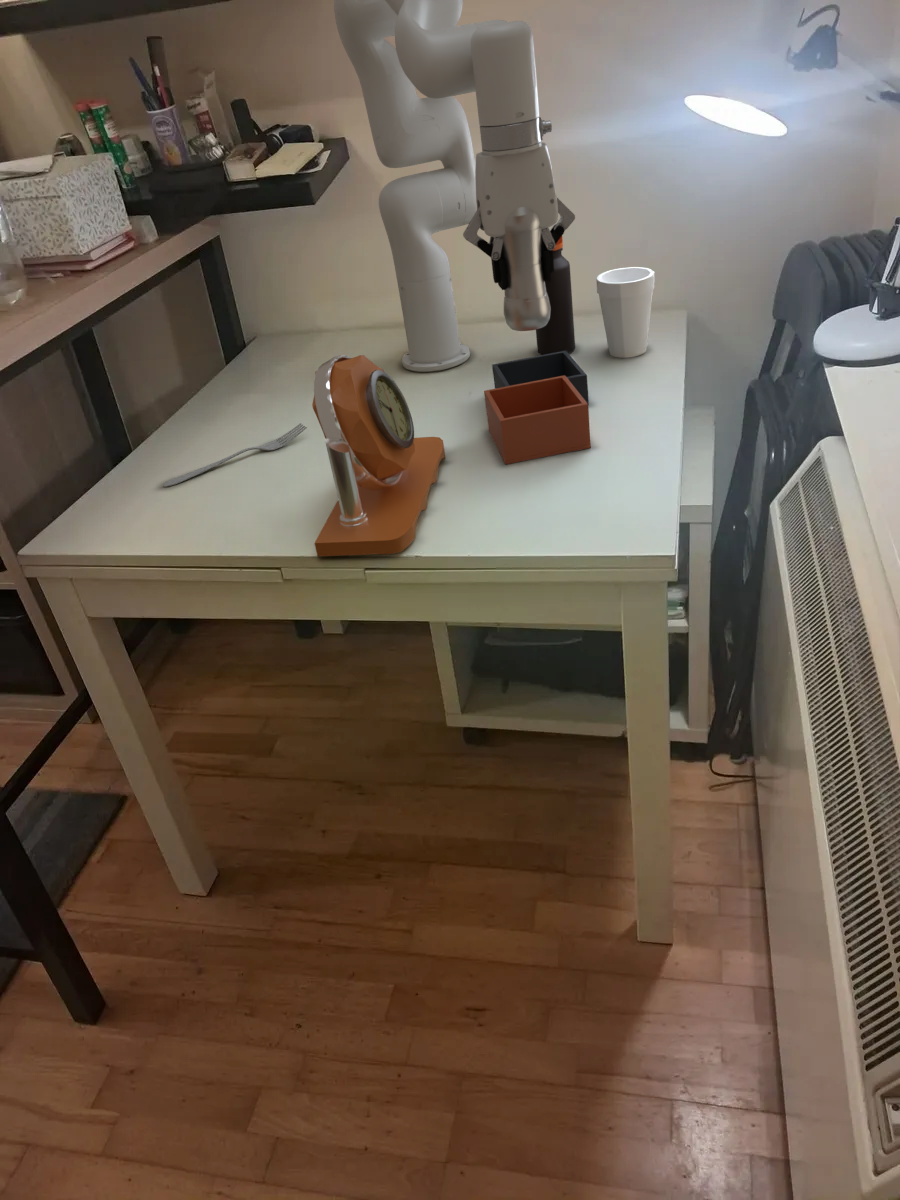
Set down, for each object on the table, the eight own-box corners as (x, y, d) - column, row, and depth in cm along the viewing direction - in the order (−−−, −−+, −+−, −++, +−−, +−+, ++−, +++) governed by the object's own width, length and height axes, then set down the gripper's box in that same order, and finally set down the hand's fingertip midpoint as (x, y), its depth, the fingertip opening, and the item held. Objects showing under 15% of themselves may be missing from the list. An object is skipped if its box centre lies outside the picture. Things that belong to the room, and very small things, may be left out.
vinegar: (535, 358, 166) (524, 241, 155) (540, 345, 172) (530, 231, 161) (573, 356, 165) (565, 238, 154) (577, 343, 170) (570, 228, 159)
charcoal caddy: (495, 393, 155) (491, 364, 152) (568, 379, 156) (566, 350, 153) (510, 420, 145) (507, 389, 142) (588, 405, 145) (586, 374, 143)
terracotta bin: (488, 431, 142) (483, 390, 139) (568, 416, 143) (565, 375, 139) (505, 464, 132) (500, 421, 128) (590, 447, 133) (588, 404, 129)
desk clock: (314, 559, 117) (276, 407, 106) (370, 455, 141) (344, 323, 130) (409, 556, 114) (380, 400, 103) (450, 450, 138) (430, 315, 127)
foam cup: (653, 339, 166) (652, 264, 159) (658, 357, 158) (656, 279, 151) (599, 345, 168) (595, 271, 160) (601, 363, 160) (597, 286, 153)
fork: (160, 483, 143) (156, 473, 142) (302, 432, 152) (300, 422, 152) (166, 490, 141) (163, 479, 140) (310, 437, 150) (308, 427, 149)
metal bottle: (521, 340, 127) (505, 182, 116) (496, 329, 133) (479, 178, 122) (561, 327, 129) (549, 171, 119) (535, 318, 135) (521, 167, 124)
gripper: (569, 122, 121) (578, 265, 131) (439, 145, 120) (458, 288, 130) (585, 128, 115) (593, 278, 125) (448, 152, 114) (467, 301, 124)
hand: (524, 281), depth 127 cm, fingers closed on metal bottle, 5 cm apart
